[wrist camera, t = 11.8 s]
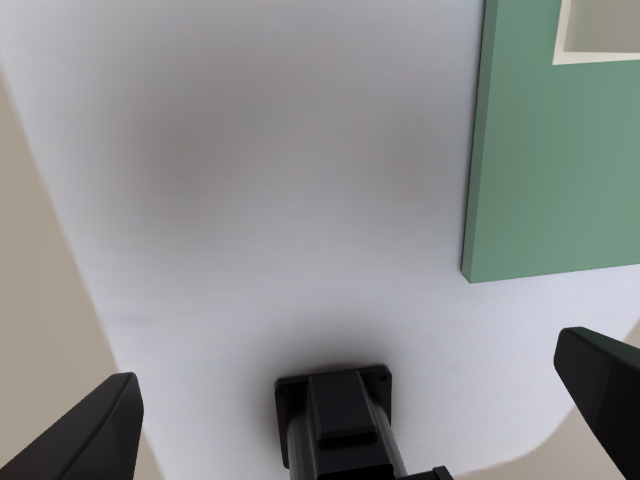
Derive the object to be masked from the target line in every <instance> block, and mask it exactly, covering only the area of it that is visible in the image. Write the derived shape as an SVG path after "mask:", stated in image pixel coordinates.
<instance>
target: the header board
mask: <svg viewBox="0 0 640 480" xmlns="http://www.w3.org/2000/svg"><path fill="white" fill-rule="evenodd" d="M570 6H571V0H486V9H485V20H484V31H483V42H482V53H481V64H480V75H479V86H478V97H477V109H476V120H475V131H474V142H473V153H472V164H471V175H470V186H469V197H468V208H467V219H466V230H465V242H464V253H463V264H462V275H463V276H464V277H465V279H466V280H467V281H468V282H469V283H470V284H471V283H480V282H488V281H497V280H505V279H514V278H522V277H531V276H540V275H548V274H557V273H565V272H574V271H582V270H591V269H599V268H608V267H616V266H625V265H633V264H640V53H603V52H563V50H564V44H565V38H566V32H567V25H568V19H569V13H570Z"/></svg>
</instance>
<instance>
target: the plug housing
mask: <svg viewBox="0 0 640 480" xmlns="http://www.w3.org/2000/svg"><path fill="white" fill-rule="evenodd" d="M563 52H603V53H640V0H571V6H570V13H569V19H568V25H567V32H566V38H565V44H564V50H563Z"/></svg>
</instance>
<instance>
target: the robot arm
mask: <svg viewBox="0 0 640 480" xmlns="http://www.w3.org/2000/svg"><path fill="white" fill-rule="evenodd" d="M554 366H555V369H556V371H557V373H558V375H559V376H560V378H561V380H562V382H563V383H564V385H565V387H566V388H567V390H568V392H569V394H570V395H571V397H572V399H573V400H574V402H575V404H576V405H577V407H578V409H579V411H580V412H581V414H582V416H583V417H584V419H585V421H586V422H587V424H588V426H589V427H590V429H591V430H592V432H593V434H594V435H595V437H596V438H597V439H598V441H599V442H600V444H601V445H602V447H603V448H604V449H605V451H606V452H607V454H608V455H609V456H610V458H611V459H612V461H613V462H614V463H615V465H616V466H617V468H618V469H619V470H620V472H621V473H622V475H623V476H624V477H625V479H626V480H640V349H639V348H636V347H634V346H631V345H628V344H625V343H623V342H621V341H618V340H615V339H613V338H610V337H608V336H605V335H602V334H600V333H597V332H595V331H592V330H589V329H587V328H584V327H570V328H564V329H562V330H561V331H560V333H559V337H558V341H557V345H556V350H555V354H554ZM381 374H384V375H383V376H380V375H381ZM283 387H284V388H286V389H284V390H281V388H283ZM391 389H392V375H391V372H390V370H389V368H388V367H386V366H375V367H367V368H360V369H352V370H345V371H337V372H330V373H323V374H315V375H308V376H300V377H293V378H285V379H280V380H278V381H277V382H276V383H275V385H274V392H275V400H276V409H277V417H278V425H279V434H280V442H281V450H282V459H283V465H284V467H285V468H287V469H290V480H454V479H453V478H452V476H451V475H450V473H449V472H448V470H447V469H446V467H445V466H439V467H434V468H433V470H431V471H426V472H422V473H417V474H412V475H407V472H406V469H405V466H404V463H403V461H402V458H401V455H400V452H399V450H398V447H397V444H396V441H395V438H394V436H393V433H392V430H391ZM143 415H144V406H143V401H142V396H141V392H140V388H139V383H138V379H137V376H136V374H135V373H133V372H126V373H116V374H113V375H111V376H110V377H108V378H107V379H106V380H105V381H104V382H102V384H100V385H99V386H98V387H97V388H95V389H94V390H93V391H92V392H91V393H90V394H88V395H87V396H86V397H85V398H84V399H82V400H81V401H80V402H79V403H78V404H76V405H75V406H74V407H73V408H72V409H71V410H69V411H68V412H67V413H66V414H65V415H64V416H62V417H61V418H60V419H59V420H58V421H57V422H55V423H54V424H53V425H52V426H51V427H49V428H48V429H47V430H46V431H45V432H43V433H42V434H41V435H40V436H39V437H38V438H36V439H35V440H34V441H33V442H32V443H31V444H29V445H28V446H27V447H26V448H25V449H24V450H22V451H21V452H20V453H19V454H18V455H16V456H15V457H14V458H13V459H12V460H10V461H9V462H8V463H7V464H6V465H5V466H3V467H2V468H1V469H0V480H133V477H134V470H135V465H136V458H137V452H138V446H139V440H140V434H141V428H142V422H143Z"/></svg>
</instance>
